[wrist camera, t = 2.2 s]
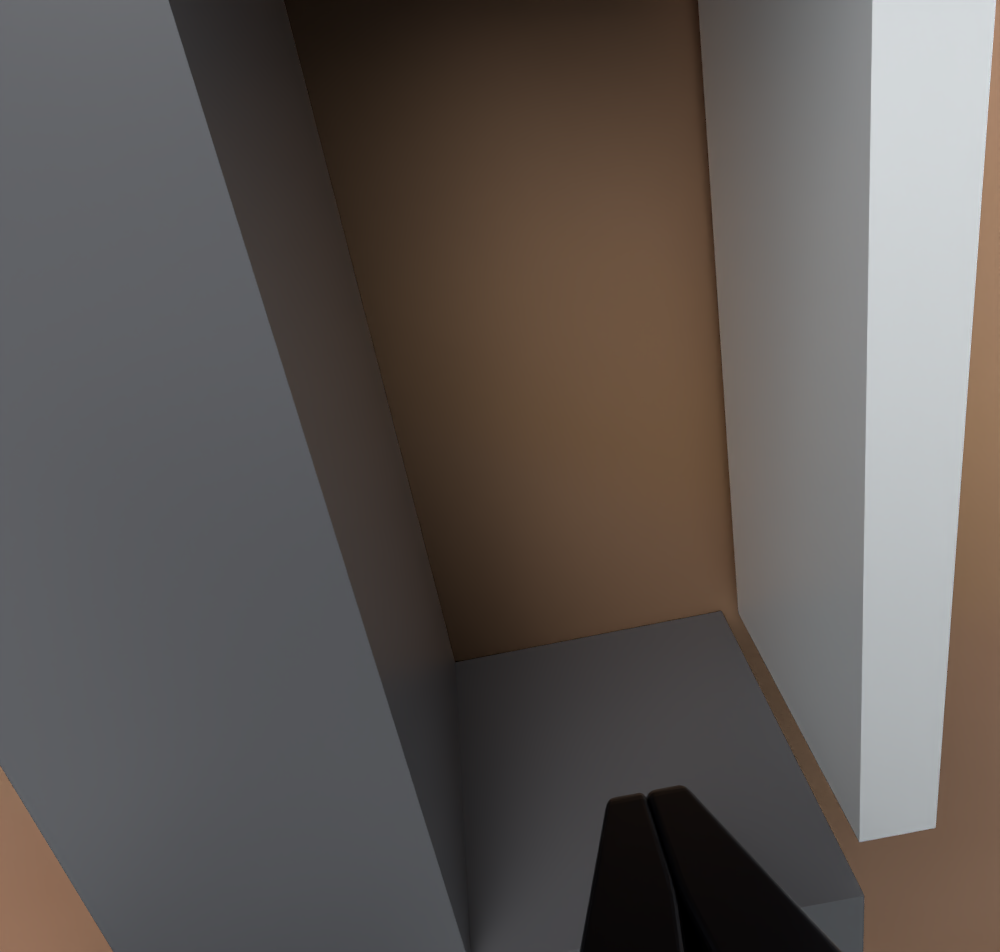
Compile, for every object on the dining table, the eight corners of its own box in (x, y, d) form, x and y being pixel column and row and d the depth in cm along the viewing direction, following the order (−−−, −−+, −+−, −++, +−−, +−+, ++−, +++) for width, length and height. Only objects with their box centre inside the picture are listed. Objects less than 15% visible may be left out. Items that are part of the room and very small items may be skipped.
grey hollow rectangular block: (731, 738, 18) (861, 1042, 13) (292, 821, 18) (239, 1158, 13) (645, -392, 10) (899, -854, 5) (-141, -229, 10) (-765, -495, 5)
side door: (793, 602, 16) (935, 828, 12) (738, 612, 16) (859, 842, 12) (770, -162, 11) (1017, -283, 6) (688, -145, 11) (875, -254, 6)
